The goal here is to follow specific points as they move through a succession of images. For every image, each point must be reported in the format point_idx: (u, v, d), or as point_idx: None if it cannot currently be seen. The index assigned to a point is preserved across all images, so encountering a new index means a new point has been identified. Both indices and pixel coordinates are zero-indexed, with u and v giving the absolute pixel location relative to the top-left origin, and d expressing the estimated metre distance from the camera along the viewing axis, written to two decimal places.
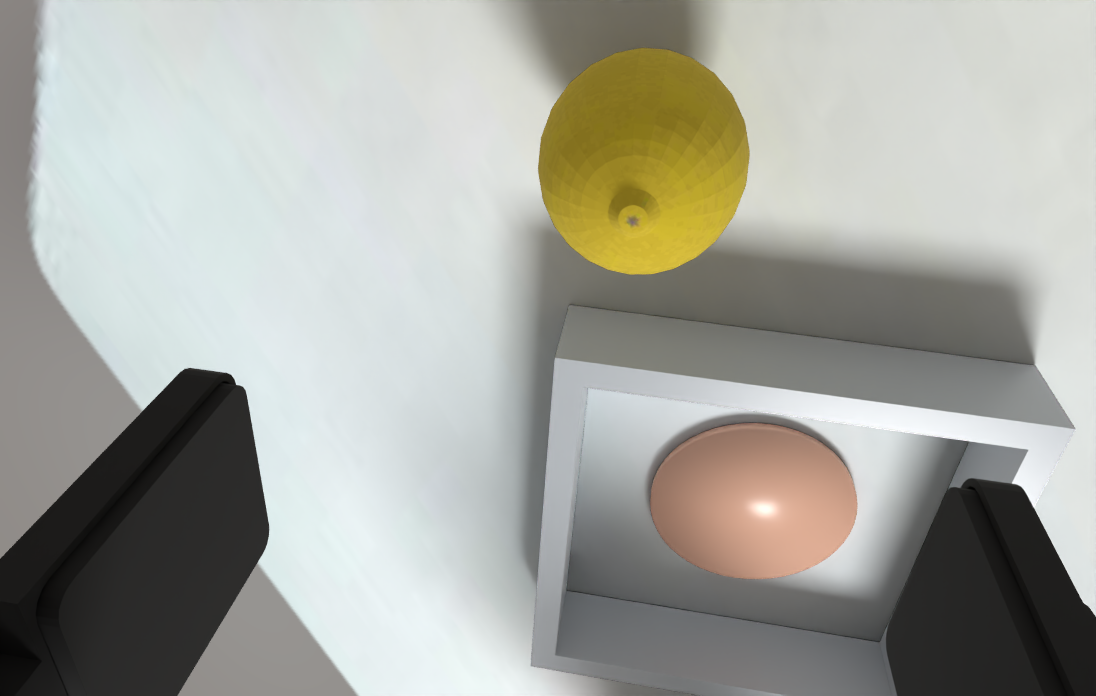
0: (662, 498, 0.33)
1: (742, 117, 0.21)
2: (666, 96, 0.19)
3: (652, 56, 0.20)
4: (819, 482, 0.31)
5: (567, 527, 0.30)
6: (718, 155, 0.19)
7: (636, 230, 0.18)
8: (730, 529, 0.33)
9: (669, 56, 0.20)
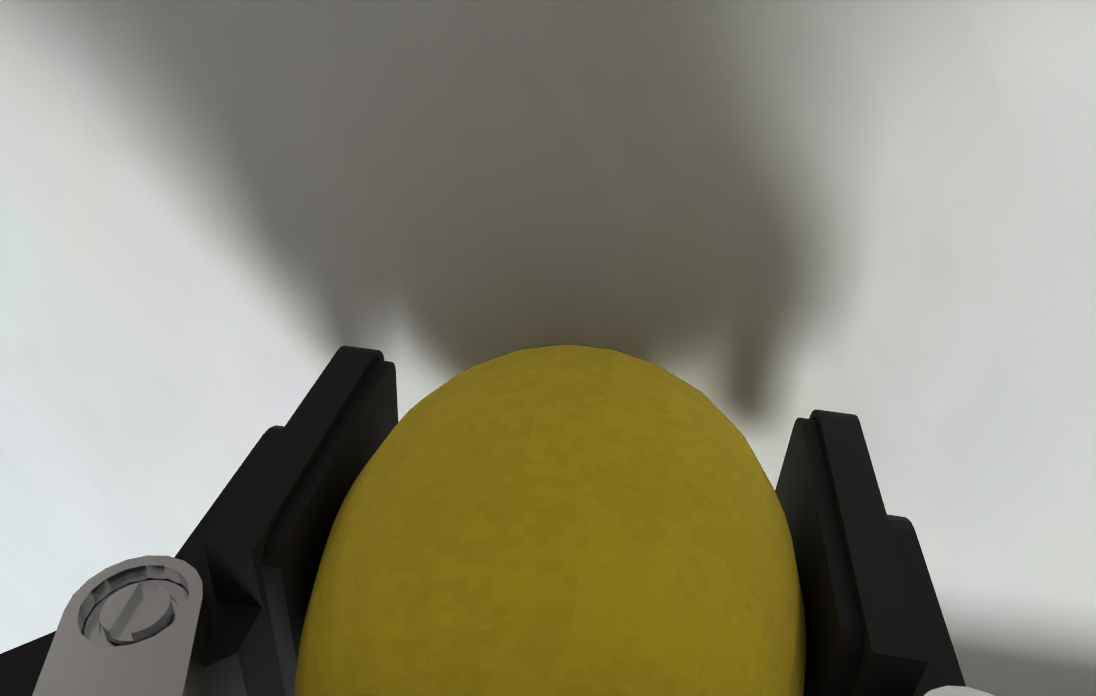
0: None
1: (788, 537, 0.09)
2: (591, 616, 0.07)
3: (567, 432, 0.08)
4: None
5: None
6: None
7: None
8: None
9: (609, 425, 0.08)
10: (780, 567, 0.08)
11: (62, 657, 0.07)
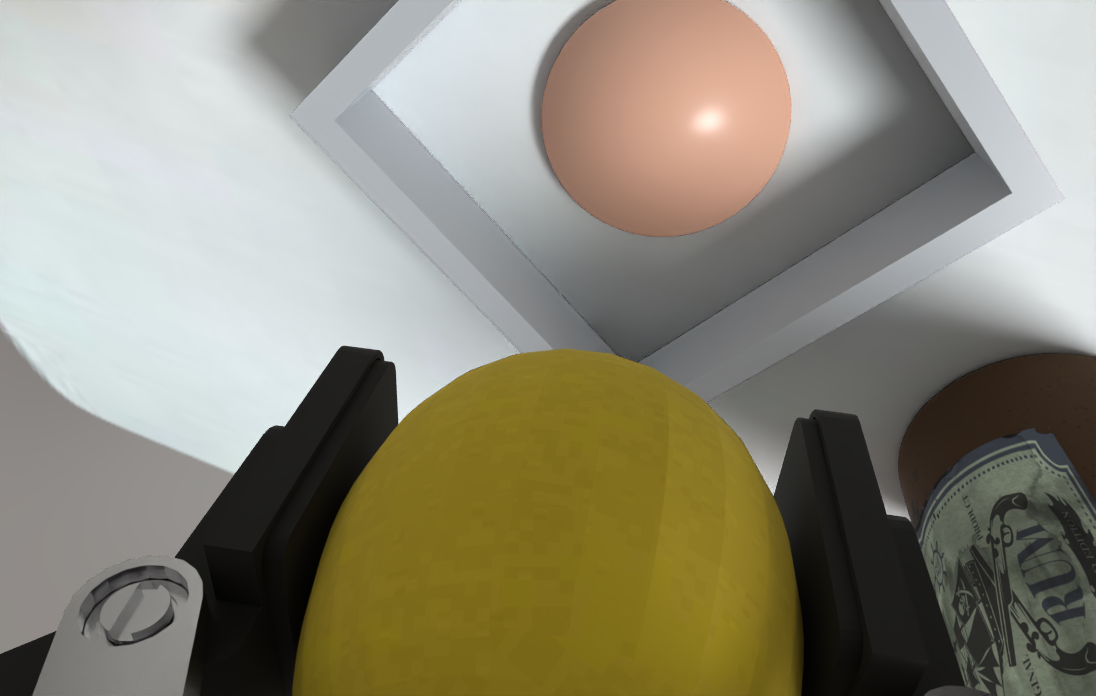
0: (583, 190, 0.28)
1: (786, 542, 0.09)
2: (586, 622, 0.07)
3: (564, 437, 0.08)
4: (684, 30, 0.25)
5: (479, 272, 0.27)
6: None
7: None
8: (672, 164, 0.27)
9: (606, 430, 0.08)
10: (777, 572, 0.08)
11: (62, 657, 0.07)
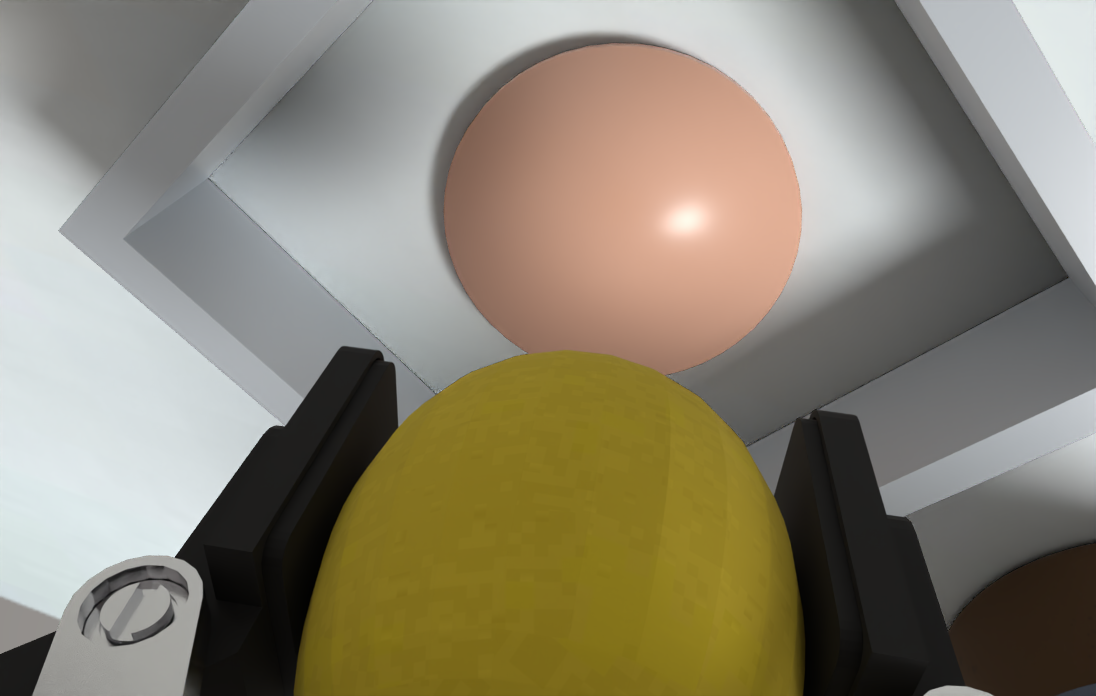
0: (509, 318, 0.20)
1: (787, 544, 0.09)
2: (588, 625, 0.07)
3: (566, 438, 0.08)
4: (643, 105, 0.17)
5: None
6: None
7: None
8: (631, 286, 0.19)
9: (608, 432, 0.08)
10: (779, 574, 0.08)
11: (62, 656, 0.07)
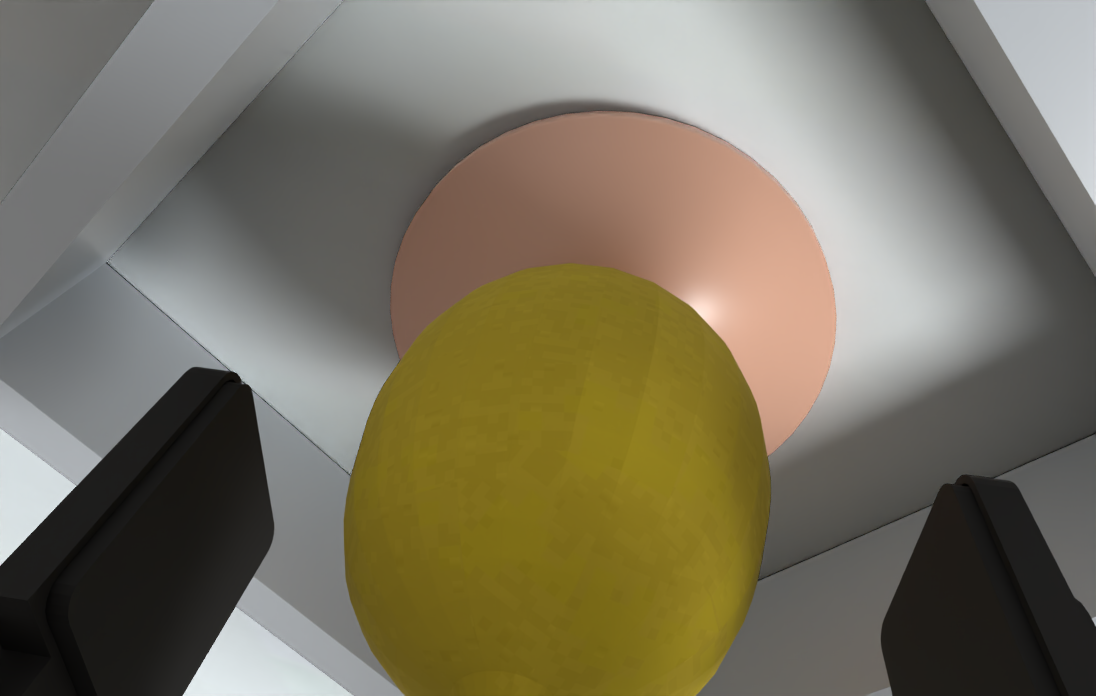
0: None
1: (757, 418, 0.10)
2: (585, 442, 0.08)
3: (570, 315, 0.10)
4: (637, 188, 0.13)
5: (279, 596, 0.15)
6: (703, 572, 0.08)
7: None
8: None
9: (606, 311, 0.10)
10: (747, 433, 0.10)
11: None
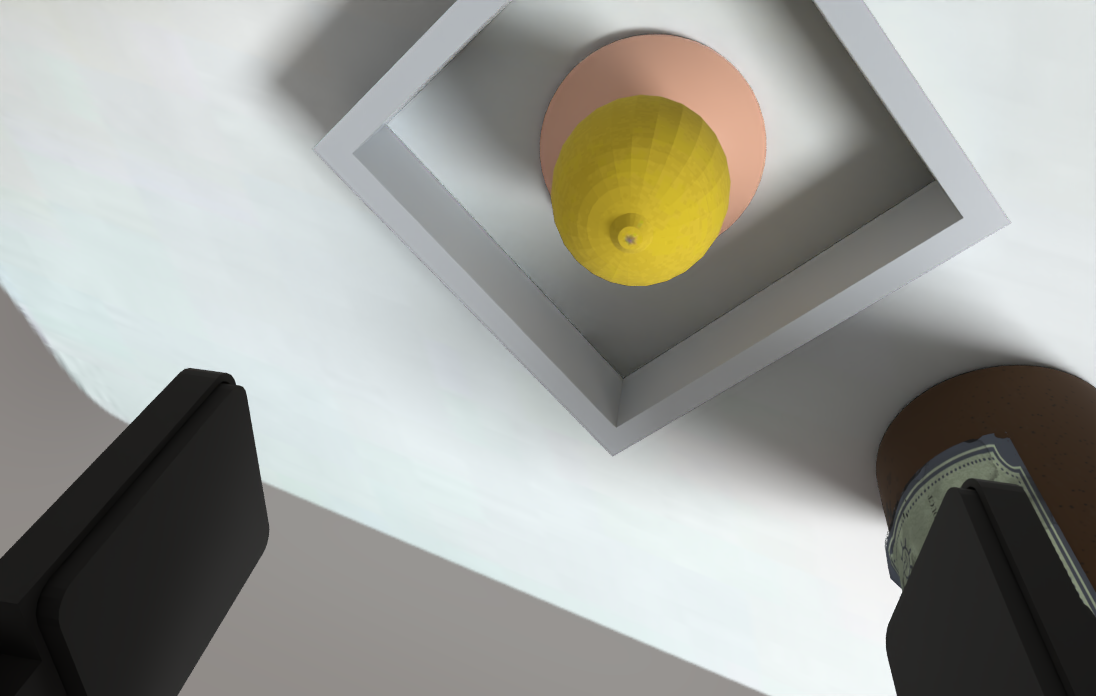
0: None
1: (724, 153, 0.25)
2: (658, 136, 0.22)
3: (648, 103, 0.24)
4: (668, 71, 0.27)
5: (483, 290, 0.29)
6: (702, 186, 0.22)
7: (633, 247, 0.22)
8: None
9: (662, 102, 0.24)
10: (719, 152, 0.24)
11: None
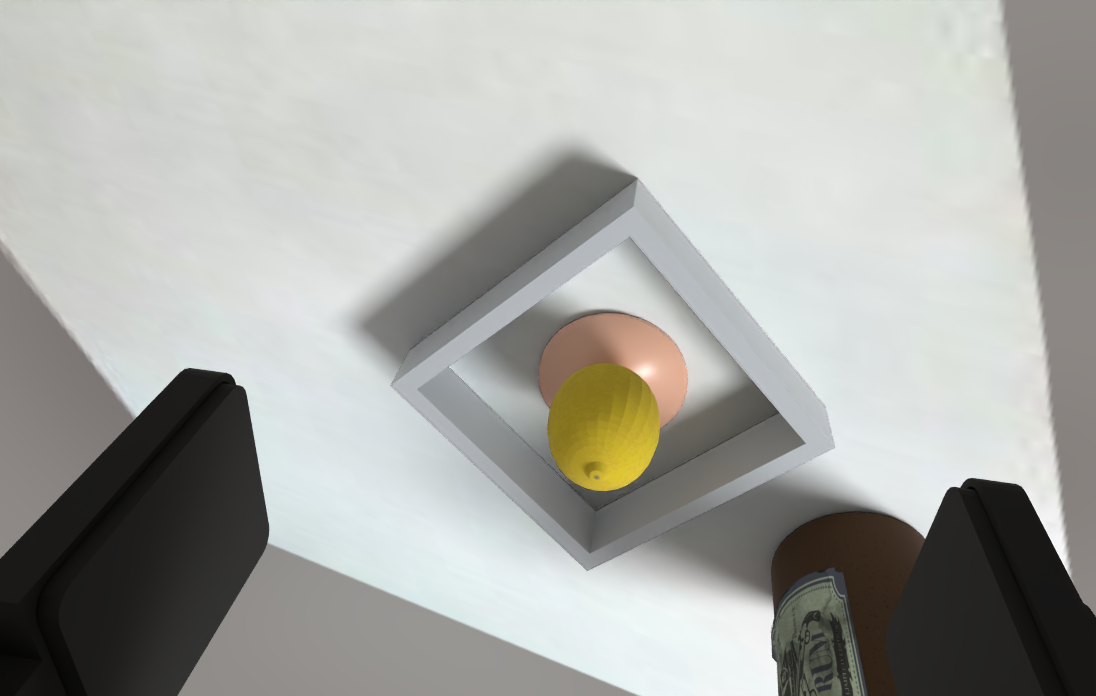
0: None
1: (656, 407, 0.39)
2: (614, 412, 0.37)
3: (608, 381, 0.38)
4: (622, 336, 0.42)
5: (500, 469, 0.44)
6: (640, 441, 0.37)
7: (598, 480, 0.37)
8: None
9: (617, 380, 0.38)
10: (652, 410, 0.39)
11: None
